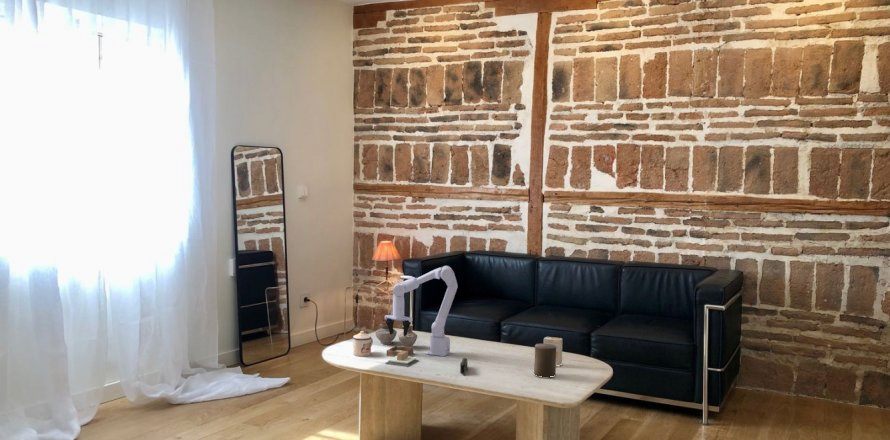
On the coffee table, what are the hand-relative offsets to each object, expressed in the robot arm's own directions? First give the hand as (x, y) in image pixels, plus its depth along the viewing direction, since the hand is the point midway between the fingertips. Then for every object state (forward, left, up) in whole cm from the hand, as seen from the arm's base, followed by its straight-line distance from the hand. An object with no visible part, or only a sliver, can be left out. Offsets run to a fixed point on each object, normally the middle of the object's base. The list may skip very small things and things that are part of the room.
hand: (398, 334), depth 373 cm
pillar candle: (-77, +6, -10) cm, 78 cm away
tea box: (-2, +2, -10) cm, 10 cm away
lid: (-9, +14, -8) cm, 18 cm away
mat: (-9, +14, -9) cm, 19 cm away
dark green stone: (-41, +16, -10) cm, 45 cm away
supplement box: (-76, -12, -10) cm, 78 cm away
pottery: (+8, -14, -10) cm, 19 cm away
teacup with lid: (+15, +8, -10) cm, 20 cm away
